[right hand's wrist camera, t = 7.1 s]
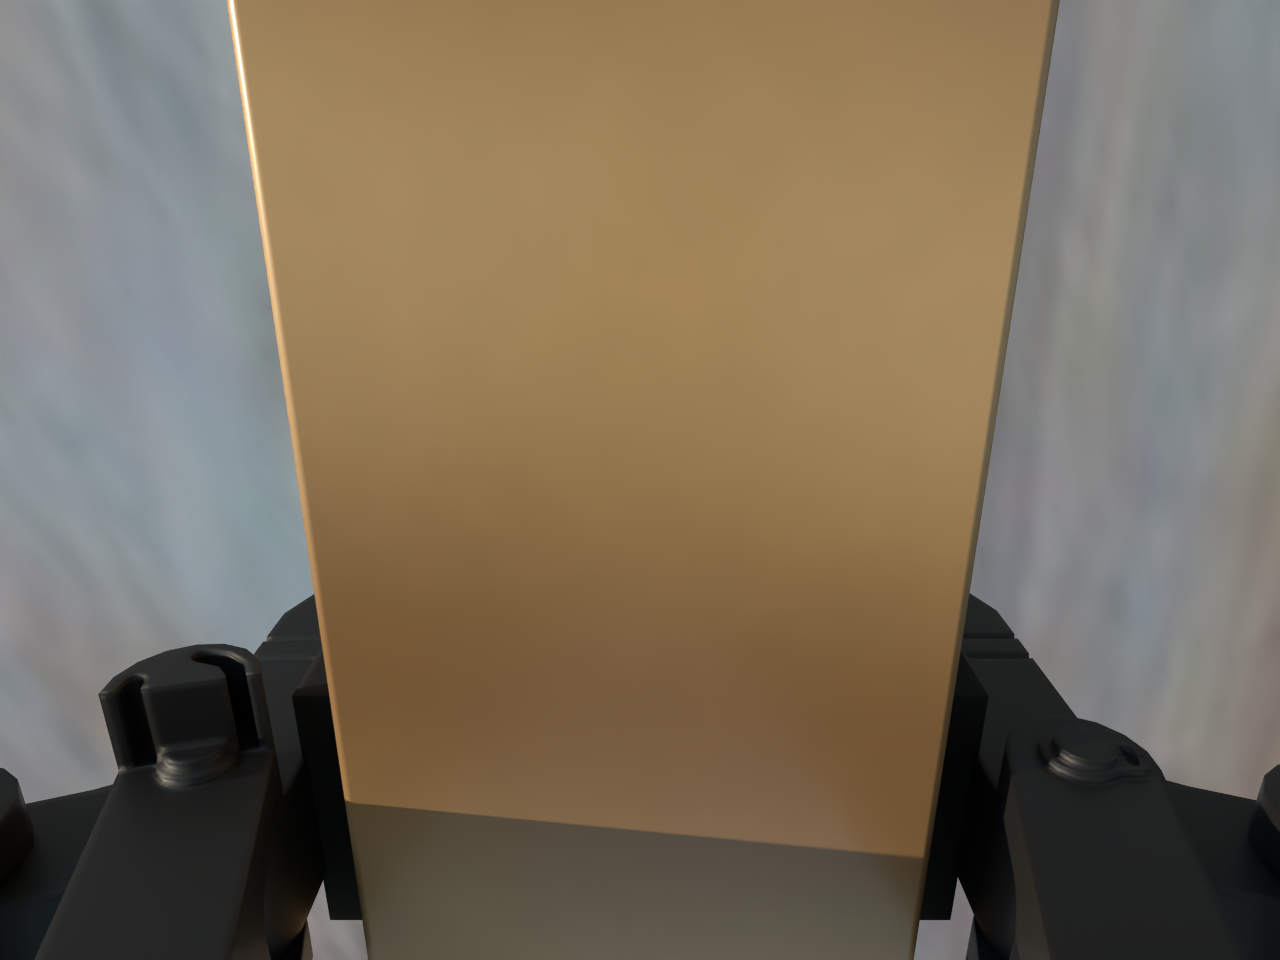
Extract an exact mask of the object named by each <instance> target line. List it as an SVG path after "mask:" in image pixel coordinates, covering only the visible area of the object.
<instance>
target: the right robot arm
mask: <svg viewBox="0 0 1280 960" xmlns="http://www.w3.org/2000/svg"><path fill="white" fill-rule="evenodd" d="M99 698H100V702H101V706H102V709H103V713H104V717H105V721H106V724H107V728H108V732H109V736H110V739H111V743H112V747H113V751H114V754H115V758H116V762H117V766H118V769H119V772H118V775H117V777H116V779H115V781H114V783H113V785H109V786H106V787H102V788H98V789H95V790H90V791H86V792H81V793H76V794H71V795H66V796H62V797H57V798H52V799H47V800H42V801H38V802H33V803H28V804H25V801H24V798H23V795H22V792H21V789H20V786H19V783H18V779H16V778H15V777H14V776H13V775H11V774H10V773H9V772H8V771H6V770H5V769H3V768H0V960H312V957H313V953H312V946H311V939H310V933H309V928H308V922H307V917H308V914H309V912H310V910H311V907H312V905H313V903H314V900H315V898H316V896H317V893H318V891H319V889H320V886H321V884H322V882H323V880H324V886H325V892H326V898H327V904H328V909H329V915H330V920H362V913H361V906H360V900H359V893H358V886H357V879H356V873H355V866H354V859H353V852H352V845H351V839H350V832H349V825H348V818H347V812H346V805H345V798H344V791H343V784H342V778H341V771H340V764H339V757H338V750H337V744H336V737H335V730H334V723H333V717H332V710H331V703H330V696H329V689H328V683H327V676H326V669H325V662H324V656H323V649H322V642H321V635H320V628H319V622H318V615H317V608H316V601H315V594H314V595H312V596H311V597H309V598H308V599H306V600H304V601H303V602H301V603H300V604H298V605H297V606H295V607H294V608H292V609H291V610H289V611H288V612H286V613H284V615H283V616H282V617H281V619H280V620H279V621H278V623H277V624H276V625H275V627H274V628H273V629H272V631H271V632H270V633H269V635H268V636H267V642H263V643H262V644H261V646H260V647H259V648H258V650H257V651H256V652H255V654H254V655H253V654H252V653H251V652H249V651H248V650H247V649H244V648H240V647H236V646H231V645H227V644H203V645H193V646H188V647H183V648H179V649H174V650H169V651H165V652H163V653H160V654H158V655H155V656H152V657H150V658H147V659H145V660H142V661H140V662H137V663H136V664H134V665H132V666H131V667H129V668H128V669H126V670H124V671H123V672H121V673H120V674H118V675H116V676H115V677H113V679H112V680H111V681H110V682H109V683H108V684H107V685H106V686H105V688H104V689H103V690H102V691H101V692H100V693H99ZM957 878H959V880H960V883H961V885H962V887H963V890H964V892H965V894H966V897H967V899H968V901H969V904H970V906H971V908H972V911H973V913H974V917H973V922H972V928H971V933H970V938H969V944H968V949H967V955H966V960H1280V765H1277V766H1276V767H1274V768H1273V769H1272V770H1271V771H1269V772H1268V773H1267V774H1266V775H1265V776H1264V779H1263V782H1262V785H1261V788H1260V791H1259V794H1258V797H1257V800H1252V799H1247V798H1242V797H1237V796H1233V795H1228V794H1223V793H1218V792H1213V791H1208V790H1204V789H1199V788H1194V787H1189V786H1185V785H1182V784H1178V783H1174V782H1171V781H1167V780H1165V777H1164V775H1163V773H1162V771H1161V769H1160V768H1159V767H1158V765H1157V764H1156V763H1155V761H1154V760H1153V759H1152V757H1151V756H1150V755H1149V753H1148V752H1147V751H1146V750H1144V749H1143V748H1142V747H1140V746H1139V745H1138V744H1136V743H1135V742H1133V741H1132V740H1131V739H1129V738H1128V737H1127V736H1125V735H1123V734H1121V733H1119V732H1117V731H1114V730H1112V729H1110V728H1108V727H1105V726H1103V725H1101V724H1099V723H1096V722H1092V721H1088V720H1084V719H1079V718H1077V717H1076V716H1075V714H1074V713H1073V712H1072V710H1071V709H1070V708H1069V706H1068V705H1067V704H1066V702H1065V701H1064V700H1063V698H1062V697H1061V696H1060V694H1059V693H1058V692H1057V690H1056V689H1055V688H1054V686H1053V685H1052V684H1051V682H1050V681H1049V680H1048V678H1047V677H1046V676H1045V674H1044V673H1043V672H1042V670H1041V669H1040V668H1039V666H1038V665H1037V664H1036V662H1035V661H1034V660H1033V658H1029V653H1028V652H1027V650H1026V649H1025V648H1024V646H1023V645H1022V644H1021V642H1020V641H1019V640H1018V639H1015V638H1014V633H1013V632H1012V630H1011V629H1010V628H1009V626H1008V625H1007V624H1006V622H1005V621H1004V620H1003V618H1002V617H1001V616H1000V614H999V613H998V612H997V611H996V610H995V609H993V608H992V607H990V606H989V605H987V604H986V603H984V602H982V601H981V600H979V599H978V598H976V597H975V596H973V595H972V594H970V593H969V599H968V605H967V612H966V618H965V625H964V631H963V638H962V645H961V651H960V658H959V664H958V671H957V677H956V684H955V691H954V697H953V704H952V710H951V717H950V723H949V730H948V736H947V743H946V750H945V756H944V763H943V769H942V776H941V782H940V789H939V796H938V802H937V809H936V815H935V822H934V828H933V835H932V841H931V848H930V855H929V861H928V868H927V874H926V881H925V887H924V894H923V900H922V907H921V914H920V920H950V918H951V913H952V907H953V901H954V895H955V889H956V884H957Z"/></svg>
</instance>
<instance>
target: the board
mask: <svg viewBox="0 0 1280 960" xmlns="http://www.w3.org/2000/svg"><path fill="white" fill-rule="evenodd" d="M1059 1H1060V0H227V4H228V11H229V18H230V25H231V31H232V38H233V45H234V52H235V59H236V65H237V72H238V79H239V86H240V93H241V99H242V106H243V113H244V120H245V126H246V133H247V140H248V147H249V154H250V160H251V167H252V174H253V181H254V187H255V194H256V201H257V208H258V215H259V221H260V228H261V235H262V242H263V249H264V255H265V262H266V269H267V276H268V282H269V289H270V296H271V303H272V310H273V316H274V323H275V330H276V337H277V343H278V350H279V357H280V364H281V371H282V377H283V384H284V391H285V398H286V405H287V411H288V418H289V425H290V432H291V438H292V445H293V452H294V459H295V466H296V472H297V479H298V486H299V493H300V500H301V506H302V513H303V520H304V527H305V533H306V540H307V547H308V554H309V561H310V567H311V574H312V581H313V588H314V594H315V601H316V608H317V615H318V622H319V628H320V635H321V642H322V649H323V656H324V662H325V669H326V676H327V683H328V689H329V696H330V703H331V710H332V717H333V723H334V730H335V737H336V744H337V750H338V757H339V764H340V771H341V778H342V784H343V791H344V798H345V805H346V812H347V818H348V825H349V832H350V839H351V845H352V852H353V859H354V866H355V873H356V879H357V886H358V893H359V900H360V906H361V913H362V920H363V927H364V934H365V940H366V947H367V954H368V960H914V953H915V946H916V940H917V933H918V927H919V920H920V914H921V907H922V900H923V894H924V887H925V881H926V874H927V868H928V861H929V855H930V848H931V841H932V835H933V828H934V822H935V815H936V809H937V802H938V796H939V789H940V782H941V776H942V769H943V763H944V756H945V750H946V743H947V736H948V730H949V723H950V717H951V710H952V704H953V697H954V691H955V684H956V677H957V671H958V664H959V658H960V651H961V645H962V638H963V631H964V625H965V618H966V612H967V605H968V599H969V592H970V586H971V579H972V572H973V566H974V559H975V553H976V546H977V540H978V533H979V526H980V520H981V513H982V507H983V500H984V494H985V487H986V481H987V474H988V467H989V461H990V454H991V448H992V441H993V435H994V428H995V421H996V415H997V408H998V402H999V395H1000V389H1001V382H1002V376H1003V369H1004V362H1005V356H1006V349H1007V343H1008V336H1009V330H1010V323H1011V316H1012V310H1013V303H1014V297H1015V290H1016V284H1017V277H1018V271H1019V264H1020V257H1021V251H1022V244H1023V238H1024V231H1025V225H1026V218H1027V211H1028V205H1029V198H1030V192H1031V185H1032V179H1033V172H1034V166H1035V159H1036V152H1037V146H1038V139H1039V133H1040V126H1041V120H1042V113H1043V106H1044V100H1045V93H1046V87H1047V80H1048V74H1049V67H1050V61H1051V54H1052V47H1053V41H1054V34H1055V28H1056V21H1057V15H1058V8H1059Z"/></svg>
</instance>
